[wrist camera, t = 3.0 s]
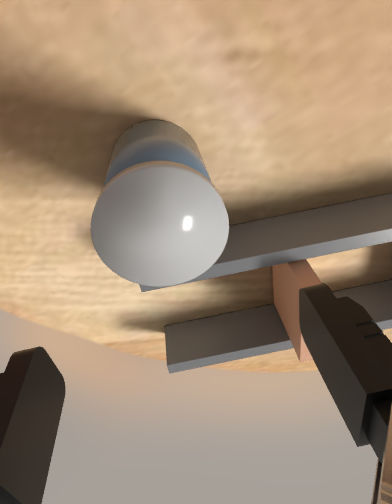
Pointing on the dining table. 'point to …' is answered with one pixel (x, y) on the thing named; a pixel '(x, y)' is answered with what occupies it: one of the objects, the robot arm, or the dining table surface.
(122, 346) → the dining table surface
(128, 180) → the jar
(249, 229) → the lane
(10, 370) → the robot arm
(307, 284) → the block
